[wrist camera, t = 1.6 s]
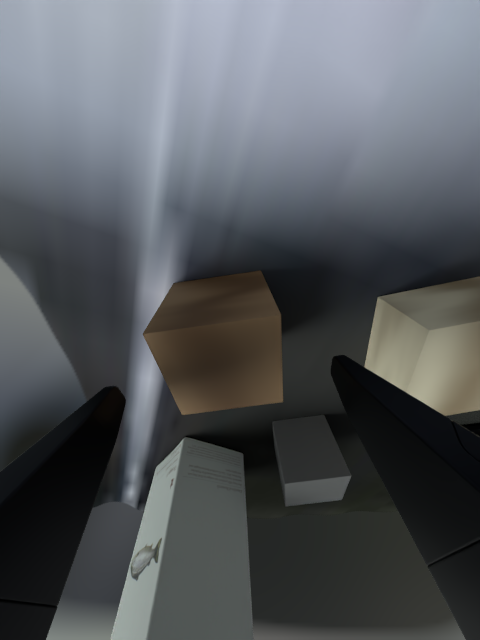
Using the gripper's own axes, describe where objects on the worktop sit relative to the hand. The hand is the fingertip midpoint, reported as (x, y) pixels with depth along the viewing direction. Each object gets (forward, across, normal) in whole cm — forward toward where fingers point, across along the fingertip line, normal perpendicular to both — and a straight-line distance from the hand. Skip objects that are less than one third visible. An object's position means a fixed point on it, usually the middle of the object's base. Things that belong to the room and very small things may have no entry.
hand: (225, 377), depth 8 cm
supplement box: (+5, +6, +18) cm, 20 cm away
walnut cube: (+5, 0, 0) cm, 5 cm away
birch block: (+5, -14, +4) cm, 15 cm away
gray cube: (+5, -5, +15) cm, 17 cm away
